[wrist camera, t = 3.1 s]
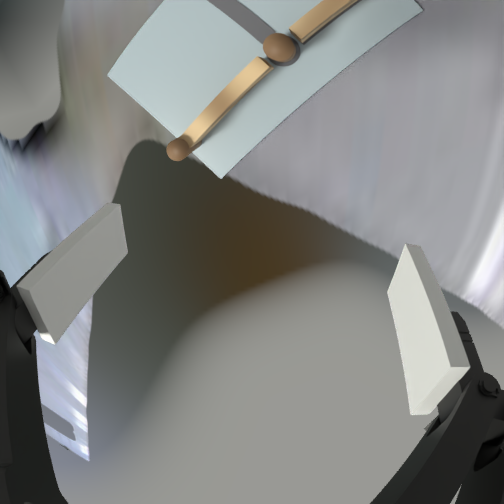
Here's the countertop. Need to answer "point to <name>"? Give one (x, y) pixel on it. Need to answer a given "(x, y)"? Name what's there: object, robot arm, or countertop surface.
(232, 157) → the card
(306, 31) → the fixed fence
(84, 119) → the countertop surface
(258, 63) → the tan wooden bar
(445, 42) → the countertop surface
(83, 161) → the countertop surface
